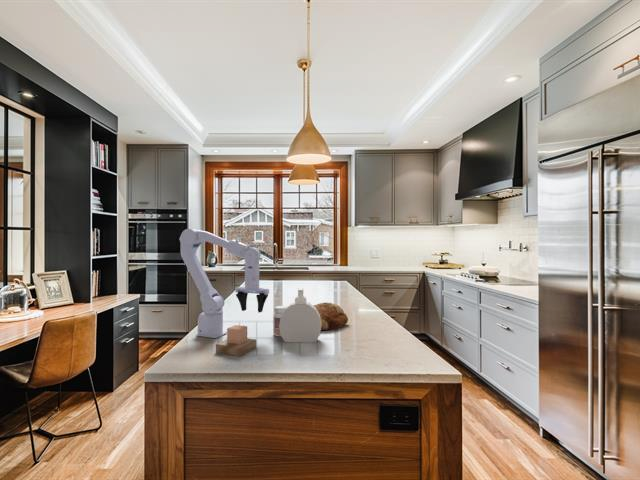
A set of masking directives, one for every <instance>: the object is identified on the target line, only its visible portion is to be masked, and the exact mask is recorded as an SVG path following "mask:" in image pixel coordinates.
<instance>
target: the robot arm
mask: <svg viewBox="0 0 640 480" xmlns="http://www.w3.org/2000/svg"><path fill="white" fill-rule="evenodd" d="M207 242H208V243H210V244H212V245H215V246H219V247H220V248H224V249H225V250H226V252H227V253H228V254H230V255H233V256H235V257H236V258H237V257H238V258H240V259H243V260H244V262H245V263H244V287H243V286H241V287H240V286H238V287H235V293H236V294H235V296H236V298H237V300H238V302H239V305H240V309H241V312H245V311H247V301H248V295H249V294H256V301H257V312H258V313H259V314H260V313H262V312H263V309H264V306H265V303H266V301H267V298H268V296H269V294H270V289H269V288H263V287H260V258H261V255H262V254H261V251H260V249H258V248H257V246H256V247H255V246H251V244H245V243H243V242H241V241H240V240H239V239H231V240H227V239H225V238H222V237H220V236H218V235H216V234H214V233H211V232H209V231H205V230H202V229H198V228H194V229H193V228H186V229H184V230H183V231H182V232H181V234H180V237H179V243H180V256H181V259H182V260H183V262H184V264H185V266H186V268H187V270H188V272H189V275H190V276H191V278H192V280H193V283H195V286H196V287H197V290H198V291H199V294H200V297H199V299H200V302H201V309H202V311H203V312H201V313H200V314H199V315H198V318H197V333H196V336H197V337H203V338H204V337H205V338H213V339H216V338H219V337H222V336H224V335H227V331H223V329H224V328H223V327H224V323H223V320H224V318H223V317H224V315H223V313H224V310H223V308H224V306H225V299H224V297H223V296H221V295H220V294H219V292H218V290H216V289H215V288H214V287H213V285H212V283H211V281H210V280H209V277H208V276H207V273H206V272H205V269H204V268H203V266H202V264H201V262H200V260H199V258H198V256H197V254H196V253H197V251H198V249H199V247H200V246H201V245H202V244H203V243H207Z"/></svg>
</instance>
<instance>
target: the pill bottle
mask: <svg viewBox="0 0 640 480" xmlns="http://www.w3.org/2000/svg"><path fill="white" fill-rule="evenodd" d="M286 307H287V306H286V305H278V306H277V305H276V306H274V312H275V313H273V335H274V336H275V337H282V336H281V334H280V329H279V323H280V318H281V315H282V314H283V312H284V310H285V309H286Z"/></svg>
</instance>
